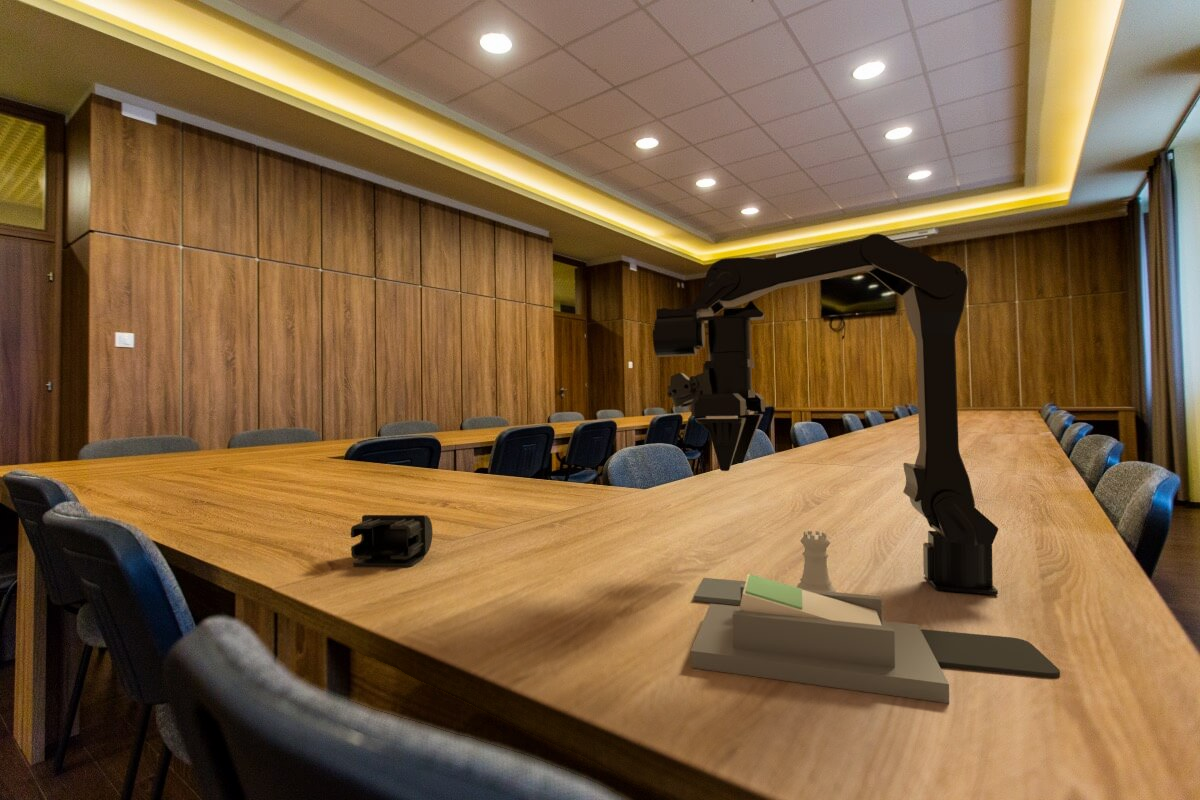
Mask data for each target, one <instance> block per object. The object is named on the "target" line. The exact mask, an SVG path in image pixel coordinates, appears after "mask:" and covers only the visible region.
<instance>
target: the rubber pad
mask: <svg viewBox="0 0 1200 800" xmlns="http://www.w3.org/2000/svg"><path fill="white" fill-rule="evenodd" d="M745 583H746V580H736V579H735V580H733V579H725V578H724V579H721V578H712V577H711V578H710V577H703V578H702V579H701V581H700V584H699V585H698V588H697V590H696V591H695V593H694V596H693V598H694V599H693V601H694V602H703V603H709V604H719V605H729V606H740V604H741V590H740V587H741V584H745Z"/></svg>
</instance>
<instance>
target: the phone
mask: <svg viewBox="0 0 1200 800" xmlns="http://www.w3.org/2000/svg"><path fill="white" fill-rule="evenodd" d="M920 630H921V632H922V634H923V636H924V637H925V639H926V641H927V643H928V645H929V647H930V649H931V651H932V653H933V655H934V656H935V658H936V660H937V662H938V664H939V666H940V668H941V669H954V670H963V671H975V672H984V673H995V674H1007V675H1015V676H1016V675H1017V676H1024V677H1034V678H1035V677H1036V678H1043V679H1044V678H1046V679H1057V678H1058V679H1059V678H1060V677H1061V671H1060V668H1058V667H1057V666H1056V665H1055V664H1054V663H1053V662H1052V661H1051V660H1050V659H1048V658H1047V656H1045V655H1044V654H1043V653H1042V652H1041V651H1040V650H1039V649H1038V648H1037V647H1036V646H1035V645H1033V644H1032V643H1031V642H1030V641H1027V640H1024V639H1022V638H1018V637H1011V636H1002V635H1001V636H1000V635H988V634H980V633H979V634H978V633H969V632H968V633H967V632H958V631H957V632H955V631H947V630H946V631H945V630H934V629H933V630H932V629H922V628H920Z"/></svg>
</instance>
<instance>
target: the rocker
mask: <svg viewBox="0 0 1200 800" xmlns="http://www.w3.org/2000/svg"><path fill="white" fill-rule="evenodd" d="M745 581H746V583H745V587H744V591H743V594H742V599H741V604H740V605H739V607H740V610H743V611H747V612H756V613H766V614H776V615H785V616H795V617H805V618H814V619H824V620H834V621H843V622H853V623H863V624H873V625H881V622H880V619H879V617H878V614H877V611H875V610H871V609H868V608H864V607H861V606H857V605H854V604H850V603H847V602H843V601H840V600H837V599H833V598H830V597H826V596H823V595H819V594H816V593H812V592H809V591H805V590H802V589H801V588H797V586H793V585H791V584H790V585H789V584H786V583H784V582H779V581H776V580H773V579H769V578H766V577H763V576H758V575H754V574H752V573H748V574H747V576H746V580H745Z"/></svg>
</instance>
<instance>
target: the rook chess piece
mask: <svg viewBox="0 0 1200 800" xmlns="http://www.w3.org/2000/svg"><path fill="white" fill-rule="evenodd" d="M799 541H800V543H801V544H802V546H803V547H804V550H803V552H802V556H803V557H804V563H803V570H802V571H803V572H802V576H801V578H800V579H799V580H800V582H798V583H797V585H796V587H797V588H801V589H805V590H816V591H828V592H837V590H836V588H835V587H834V586H833V582H832V580H831V579H830V577H829V569H828V563H827V561H828V558H829V554H828V553H827V548H828V547H829V546H830V544H831V541H830V540H829V539H828V534H827V532H824V531H823V532H822V531H820V530H815V534H813V530H807V531H803V537H802V538H801V539H800V540H799Z"/></svg>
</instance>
